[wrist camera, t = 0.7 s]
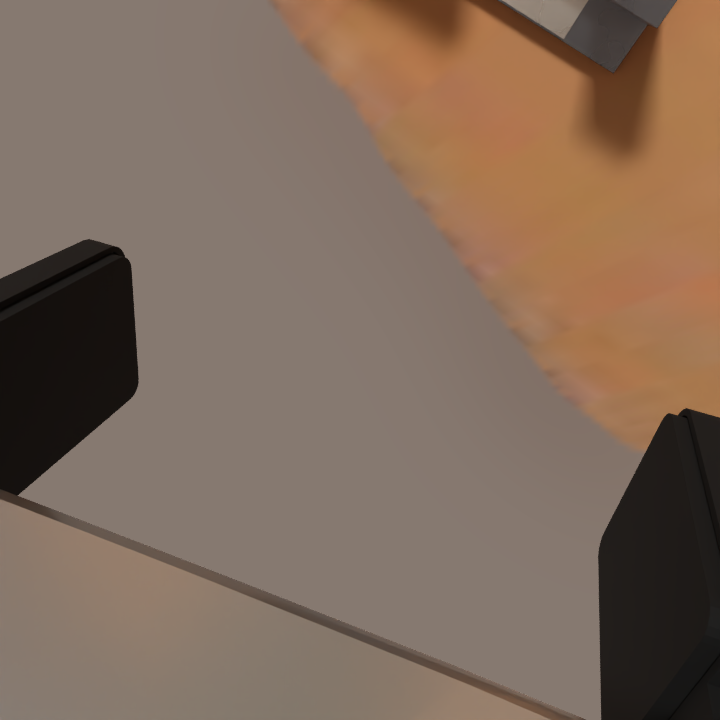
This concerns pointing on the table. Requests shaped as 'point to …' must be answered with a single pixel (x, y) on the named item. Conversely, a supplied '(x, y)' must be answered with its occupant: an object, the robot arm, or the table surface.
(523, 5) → the rail
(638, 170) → the table surface
